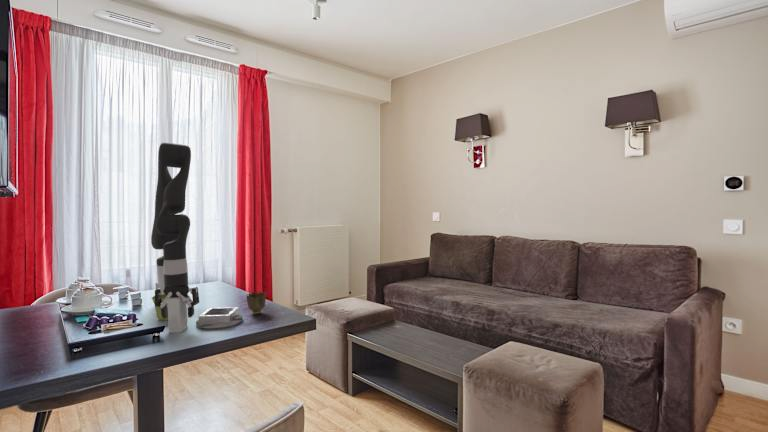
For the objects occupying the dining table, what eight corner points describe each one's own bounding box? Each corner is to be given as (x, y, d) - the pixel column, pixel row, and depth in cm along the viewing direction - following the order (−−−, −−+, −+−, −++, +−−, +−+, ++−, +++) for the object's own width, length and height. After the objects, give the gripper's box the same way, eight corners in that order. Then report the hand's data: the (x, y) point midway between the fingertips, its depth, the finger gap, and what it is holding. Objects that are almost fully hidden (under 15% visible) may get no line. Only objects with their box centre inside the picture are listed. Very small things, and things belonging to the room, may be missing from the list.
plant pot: (184, 317, 160) (182, 295, 160) (157, 323, 153) (156, 300, 153) (174, 313, 167) (173, 292, 166) (149, 318, 160) (147, 296, 159)
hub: (188, 330, 145) (188, 318, 145) (206, 316, 161) (205, 306, 161) (235, 329, 146) (234, 317, 145) (247, 315, 162) (247, 305, 161)
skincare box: (175, 327, 149) (174, 294, 148) (187, 327, 149) (186, 294, 148) (168, 333, 142) (166, 299, 142) (181, 332, 143) (179, 298, 142)
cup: (260, 317, 159) (260, 296, 159) (243, 316, 161) (242, 295, 160) (269, 311, 167) (269, 291, 166) (253, 310, 168) (252, 291, 168)
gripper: (200, 269, 149) (202, 313, 149) (160, 270, 148) (162, 315, 149) (192, 273, 141) (194, 319, 142) (149, 274, 140) (151, 321, 141)
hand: (178, 317), depth 145 cm, fingers open, 8 cm apart
